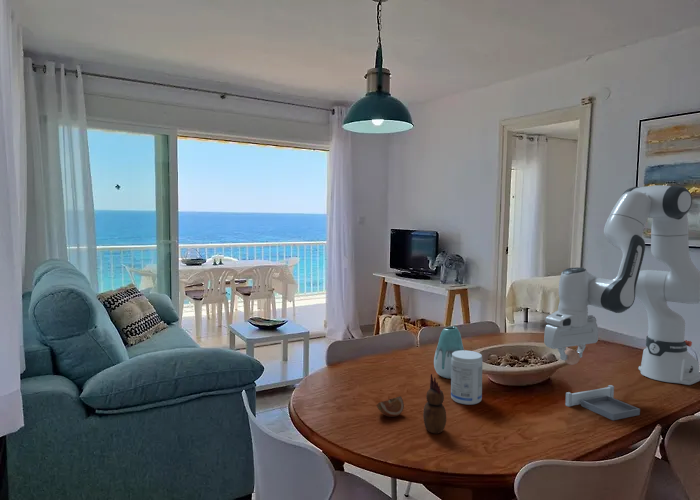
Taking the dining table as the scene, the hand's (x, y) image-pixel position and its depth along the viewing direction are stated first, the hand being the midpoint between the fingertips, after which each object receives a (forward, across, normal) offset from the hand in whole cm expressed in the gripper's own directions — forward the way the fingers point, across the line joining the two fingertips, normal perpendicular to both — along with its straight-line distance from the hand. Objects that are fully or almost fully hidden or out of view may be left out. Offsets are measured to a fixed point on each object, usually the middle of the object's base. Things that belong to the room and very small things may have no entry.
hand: (571, 358), depth 153 cm
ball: (+2, 0, 0) cm, 2 cm away
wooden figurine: (+10, +58, +9) cm, 59 cm away
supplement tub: (+11, +37, -6) cm, 39 cm away
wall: (+11, +1, +8) cm, 14 cm away
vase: (+11, +29, -28) cm, 41 cm away
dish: (+11, +1, +15) cm, 19 cm away
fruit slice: (+10, +65, -4) cm, 66 cm away
